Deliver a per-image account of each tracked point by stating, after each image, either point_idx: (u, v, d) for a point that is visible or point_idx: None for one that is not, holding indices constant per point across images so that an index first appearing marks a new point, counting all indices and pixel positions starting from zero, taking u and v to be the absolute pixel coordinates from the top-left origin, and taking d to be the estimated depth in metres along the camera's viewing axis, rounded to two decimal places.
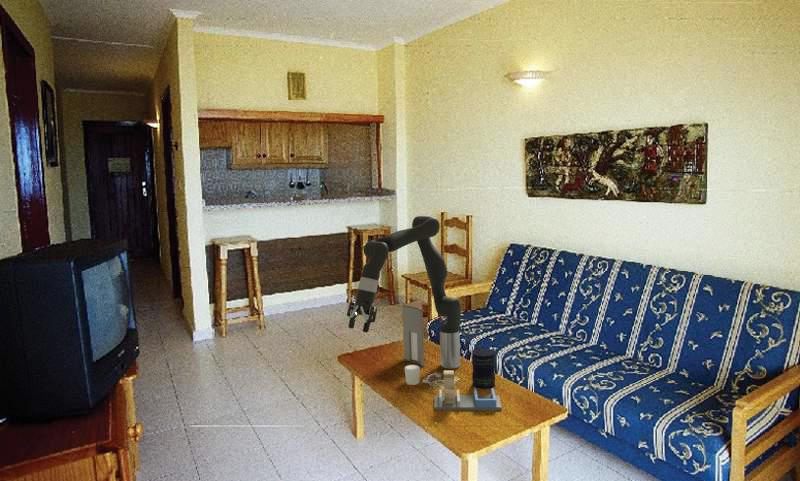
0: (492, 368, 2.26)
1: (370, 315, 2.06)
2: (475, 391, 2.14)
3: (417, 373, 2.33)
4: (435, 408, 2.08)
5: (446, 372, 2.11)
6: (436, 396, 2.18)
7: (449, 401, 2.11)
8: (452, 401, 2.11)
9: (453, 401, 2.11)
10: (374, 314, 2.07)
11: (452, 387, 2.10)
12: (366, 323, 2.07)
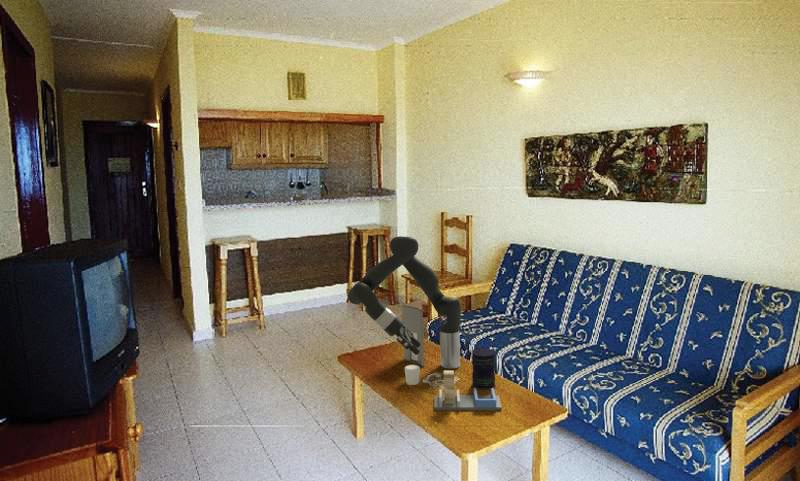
0: (492, 368, 2.26)
1: None
2: (475, 391, 2.14)
3: (417, 373, 2.33)
4: (435, 408, 2.08)
5: (446, 372, 2.11)
6: (436, 396, 2.18)
7: (449, 401, 2.11)
8: (452, 401, 2.11)
9: (453, 401, 2.11)
10: (404, 341, 2.04)
11: (452, 387, 2.10)
12: (410, 349, 2.06)
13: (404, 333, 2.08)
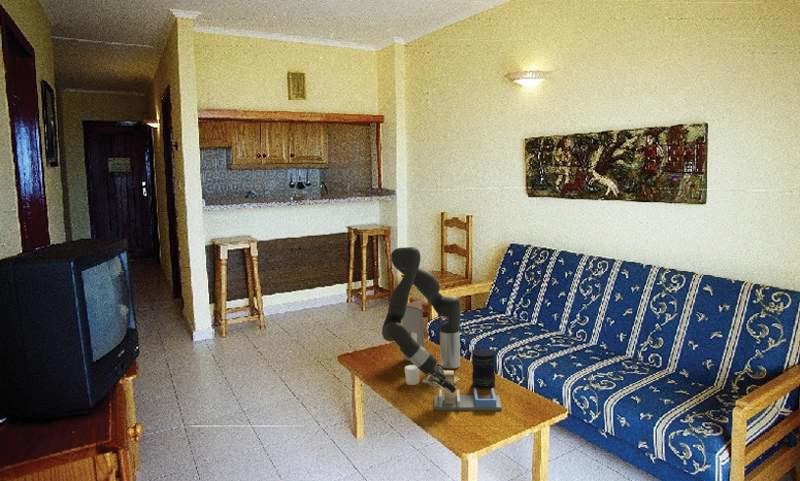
0: (492, 368, 2.26)
1: None
2: (475, 391, 2.14)
3: (417, 373, 2.33)
4: (435, 408, 2.08)
5: (446, 372, 2.11)
6: (436, 396, 2.18)
7: (449, 401, 2.11)
8: (452, 401, 2.11)
9: (453, 401, 2.11)
10: (441, 381, 2.06)
11: None
12: (446, 386, 2.09)
13: (438, 371, 2.09)
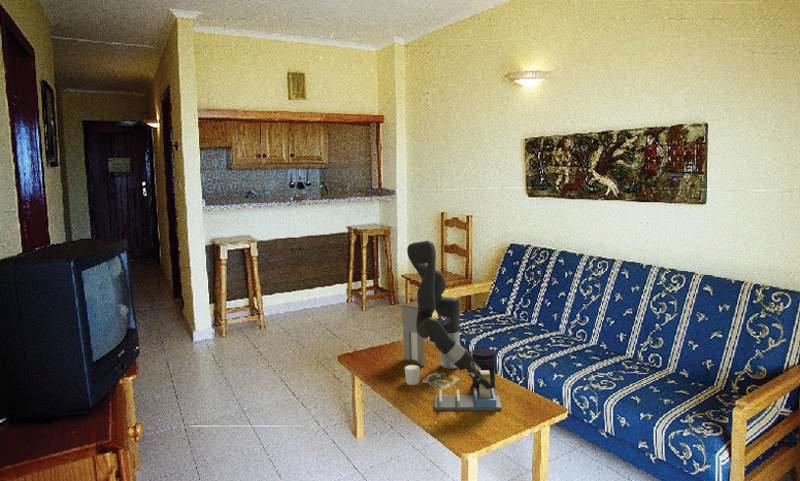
0: (492, 368, 2.26)
1: None
2: (475, 391, 2.14)
3: (417, 373, 2.33)
4: (435, 408, 2.08)
5: (482, 372, 2.10)
6: (436, 396, 2.18)
7: None
8: None
9: None
10: (477, 377, 2.04)
11: None
12: (482, 383, 2.07)
13: (474, 367, 2.08)
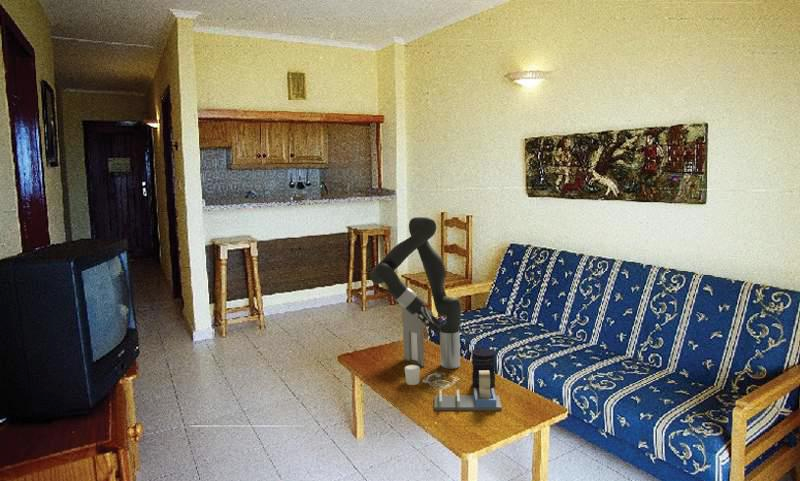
0: (492, 368, 2.26)
1: (424, 322, 2.13)
2: (475, 391, 2.14)
3: (417, 373, 2.33)
4: (435, 408, 2.08)
5: (482, 372, 2.10)
6: (436, 396, 2.18)
7: None
8: None
9: None
10: (425, 319, 2.12)
11: (488, 387, 2.09)
12: (431, 326, 2.15)
13: (425, 311, 2.17)
